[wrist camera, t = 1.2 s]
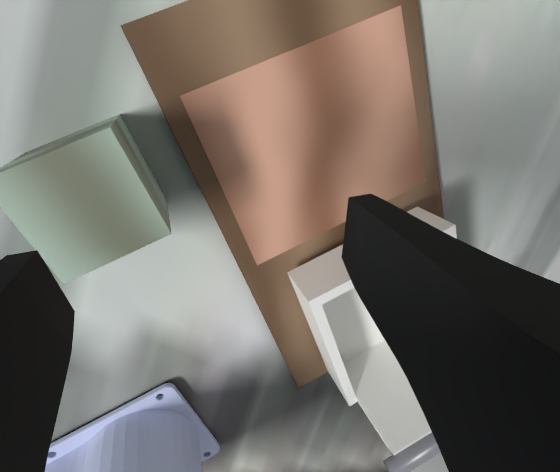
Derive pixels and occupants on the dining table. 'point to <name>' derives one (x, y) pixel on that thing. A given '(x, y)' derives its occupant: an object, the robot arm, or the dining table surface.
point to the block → (85, 199)
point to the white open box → (365, 354)
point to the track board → (293, 129)
